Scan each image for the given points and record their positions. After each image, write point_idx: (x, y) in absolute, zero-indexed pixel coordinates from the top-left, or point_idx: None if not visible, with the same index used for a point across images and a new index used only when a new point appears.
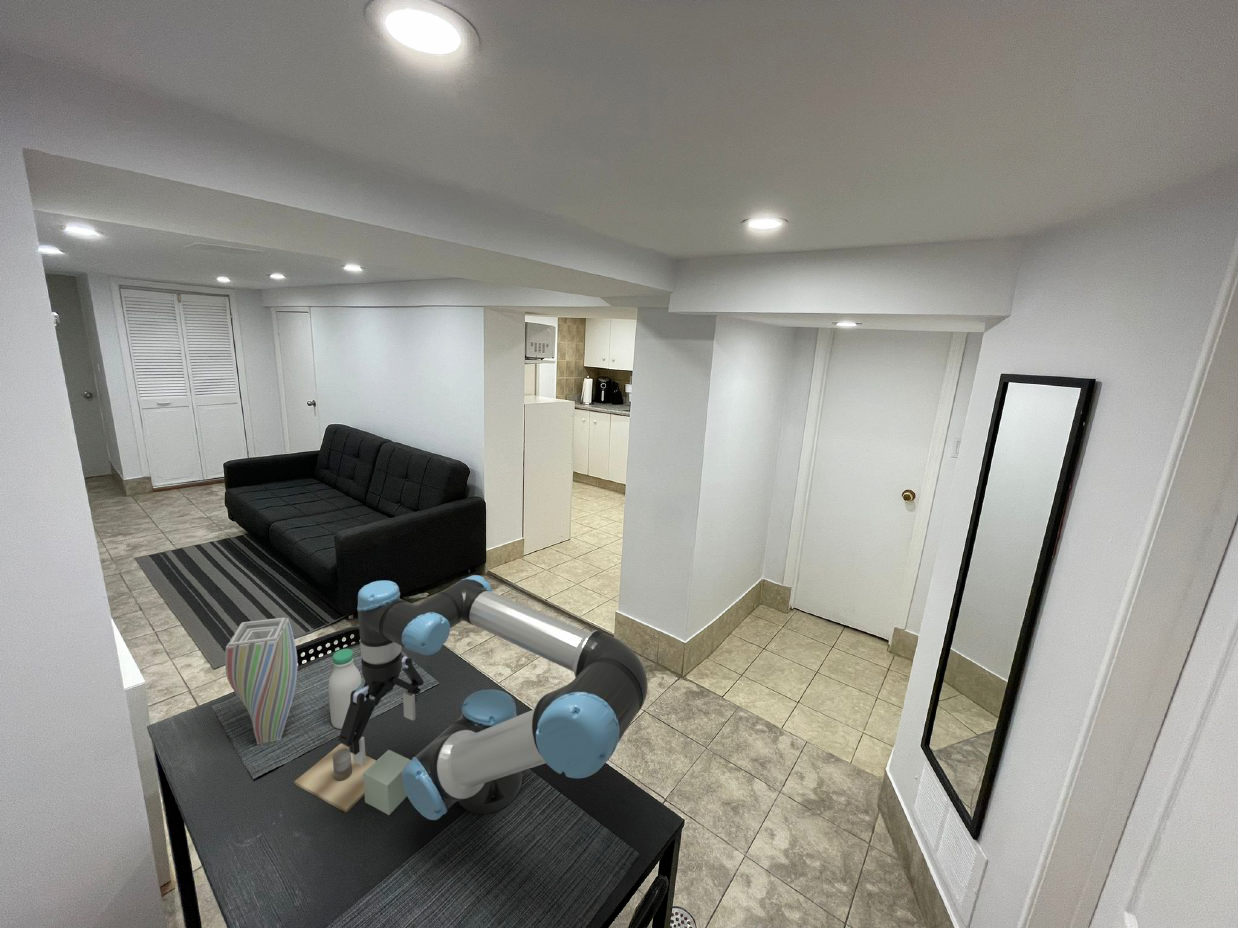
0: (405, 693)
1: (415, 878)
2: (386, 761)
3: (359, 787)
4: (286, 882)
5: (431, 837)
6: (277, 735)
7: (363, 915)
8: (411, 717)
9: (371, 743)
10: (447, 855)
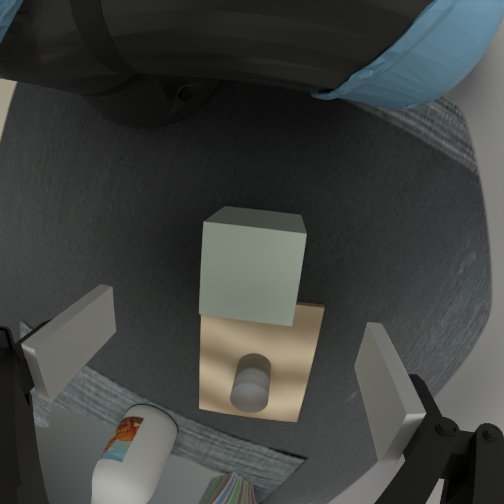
0: (46, 390)
1: None
2: (235, 292)
3: None
4: (451, 298)
5: None
6: (234, 480)
7: (466, 135)
8: (106, 299)
9: (170, 362)
10: None
